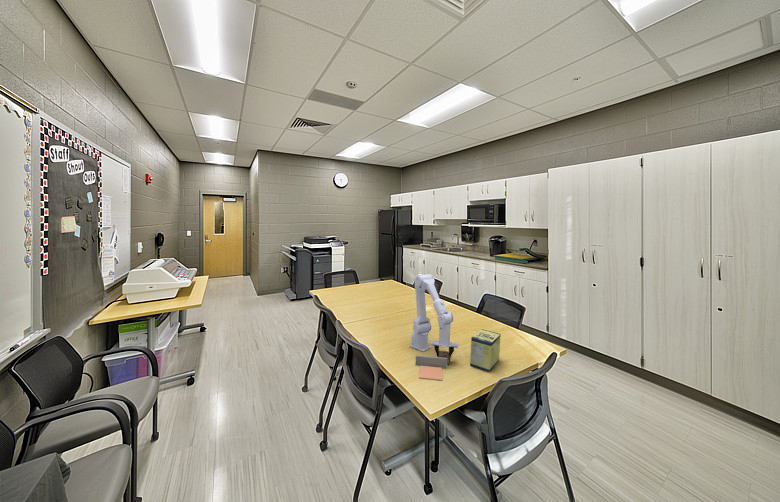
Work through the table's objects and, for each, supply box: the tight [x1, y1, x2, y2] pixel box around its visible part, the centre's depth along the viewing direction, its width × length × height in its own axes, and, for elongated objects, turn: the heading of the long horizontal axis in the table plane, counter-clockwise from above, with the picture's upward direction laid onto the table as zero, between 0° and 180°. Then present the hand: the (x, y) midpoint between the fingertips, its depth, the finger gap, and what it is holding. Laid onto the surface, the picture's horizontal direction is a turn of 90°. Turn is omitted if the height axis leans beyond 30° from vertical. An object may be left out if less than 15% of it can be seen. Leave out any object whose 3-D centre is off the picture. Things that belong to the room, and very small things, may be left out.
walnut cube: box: [439, 350, 450, 366], centre depth 150 cm, size 5×5×5 cm
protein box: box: [469, 328, 501, 373], centre depth 149 cm, size 10×16×16 cm
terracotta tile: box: [418, 366, 443, 382], centre depth 139 cm, size 11×11×1 cm
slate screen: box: [415, 354, 448, 369], centre depth 146 cm, size 16×1×5 cm, turn 81°
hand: (443, 359), depth 150 cm, fingers closed on walnut cube, 5 cm apart
